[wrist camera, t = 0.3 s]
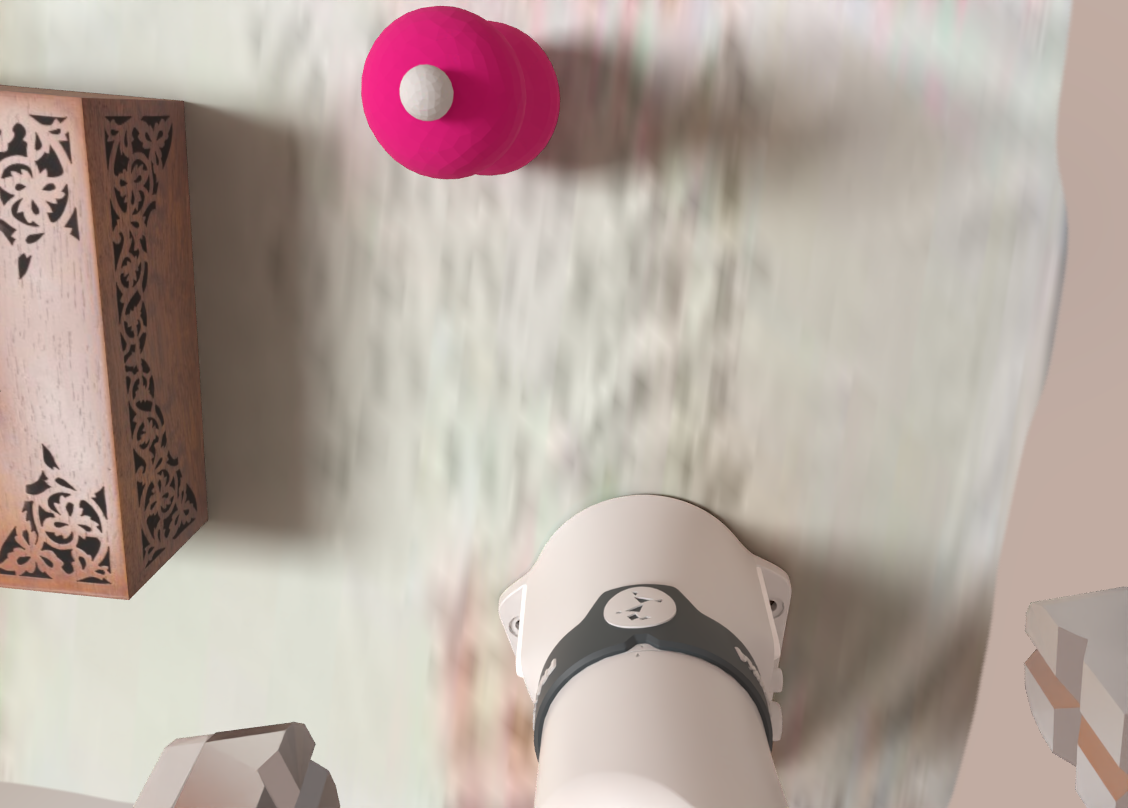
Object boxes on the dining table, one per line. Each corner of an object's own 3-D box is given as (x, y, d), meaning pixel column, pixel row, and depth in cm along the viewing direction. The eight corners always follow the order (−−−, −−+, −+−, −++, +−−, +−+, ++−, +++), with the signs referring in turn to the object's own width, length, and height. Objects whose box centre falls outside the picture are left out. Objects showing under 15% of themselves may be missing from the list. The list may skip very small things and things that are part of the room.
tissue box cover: (209, 517, 56) (128, 599, 47) (-7, 497, 56) (-132, 574, 47) (186, 100, 48) (81, 97, 38) (-69, 78, 48) (-235, 70, 39)
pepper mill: (497, -2, 45) (414, -87, 26) (591, 103, 46) (579, 94, 27) (404, 100, 47) (265, 89, 28) (498, 198, 48) (426, 251, 29)
